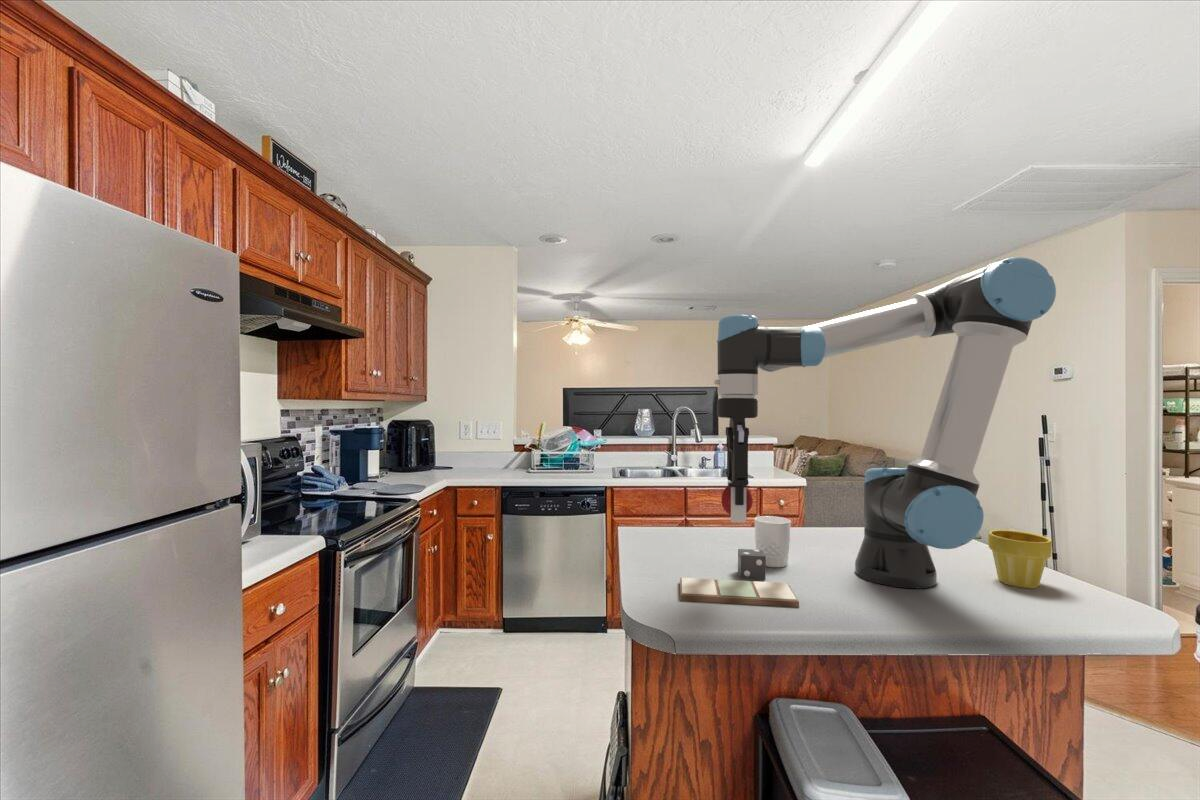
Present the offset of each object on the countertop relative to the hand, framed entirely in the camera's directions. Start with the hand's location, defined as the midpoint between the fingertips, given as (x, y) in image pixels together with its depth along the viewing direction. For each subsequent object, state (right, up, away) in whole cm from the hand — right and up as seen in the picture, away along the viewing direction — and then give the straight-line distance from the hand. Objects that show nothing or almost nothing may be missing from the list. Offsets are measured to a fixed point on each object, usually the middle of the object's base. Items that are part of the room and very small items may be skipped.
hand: (736, 518), depth 104 cm
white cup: (+13, -15, +20) cm, 29 cm away
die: (+6, -15, +11) cm, 19 cm away
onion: (0, 0, 0) cm, 0 cm away
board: (0, -14, 0) cm, 14 cm away
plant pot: (+60, -15, +8) cm, 62 cm away
